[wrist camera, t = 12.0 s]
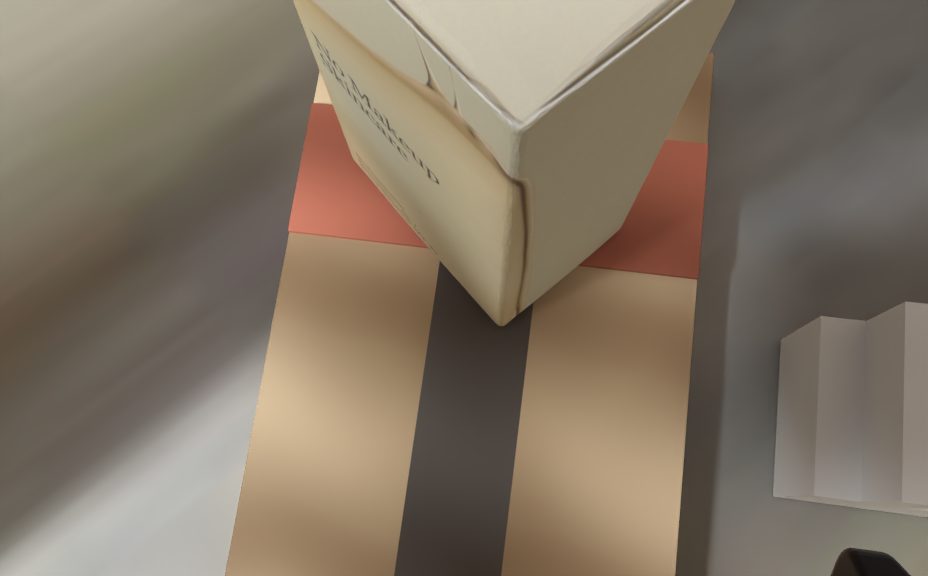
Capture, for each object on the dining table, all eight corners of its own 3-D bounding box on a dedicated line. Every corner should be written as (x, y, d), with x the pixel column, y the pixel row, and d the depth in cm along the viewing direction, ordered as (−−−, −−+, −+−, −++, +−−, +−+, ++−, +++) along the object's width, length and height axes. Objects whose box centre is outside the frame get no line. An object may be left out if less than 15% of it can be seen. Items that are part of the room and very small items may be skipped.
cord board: (654, 727, 21) (663, 743, 19) (223, 660, 22) (205, 670, 20) (704, 74, 25) (715, 49, 23) (338, 38, 25) (329, 12, 24)
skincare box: (349, 159, 23) (186, -199, 11) (478, 57, 24) (450, -387, 12) (506, 338, 22) (507, 144, 10) (639, 226, 22) (788, -85, 10)
